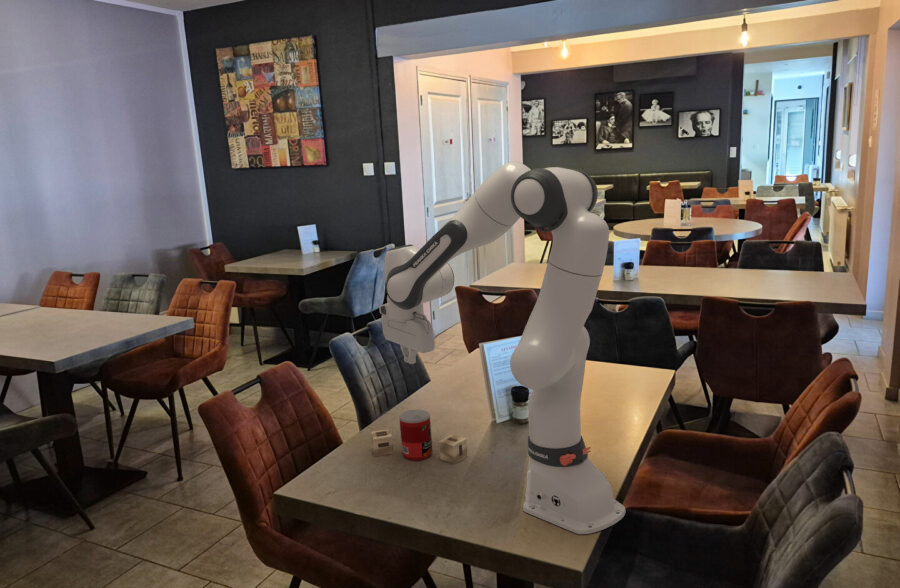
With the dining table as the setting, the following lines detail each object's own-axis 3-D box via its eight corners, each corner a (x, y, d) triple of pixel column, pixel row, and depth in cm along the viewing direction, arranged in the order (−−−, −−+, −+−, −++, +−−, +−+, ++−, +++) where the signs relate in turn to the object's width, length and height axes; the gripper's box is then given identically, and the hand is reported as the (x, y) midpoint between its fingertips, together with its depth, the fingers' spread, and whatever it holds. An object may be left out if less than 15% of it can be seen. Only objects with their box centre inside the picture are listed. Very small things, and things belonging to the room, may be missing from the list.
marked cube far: (393, 454, 171) (392, 435, 170) (375, 457, 170) (373, 438, 169) (390, 446, 176) (389, 428, 175) (372, 449, 175) (370, 431, 174)
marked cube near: (468, 456, 167) (466, 438, 166) (455, 464, 163) (453, 445, 162) (452, 452, 170) (451, 433, 169) (440, 459, 167) (438, 440, 166)
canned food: (429, 461, 166) (425, 420, 163) (399, 460, 167) (395, 420, 165) (435, 448, 173) (432, 409, 171) (406, 447, 175) (403, 409, 172)
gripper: (438, 313, 156) (442, 368, 158) (397, 301, 172) (401, 351, 175) (416, 318, 152) (420, 374, 155) (375, 306, 169) (380, 357, 172)
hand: (410, 362), depth 165 cm, fingers closed
